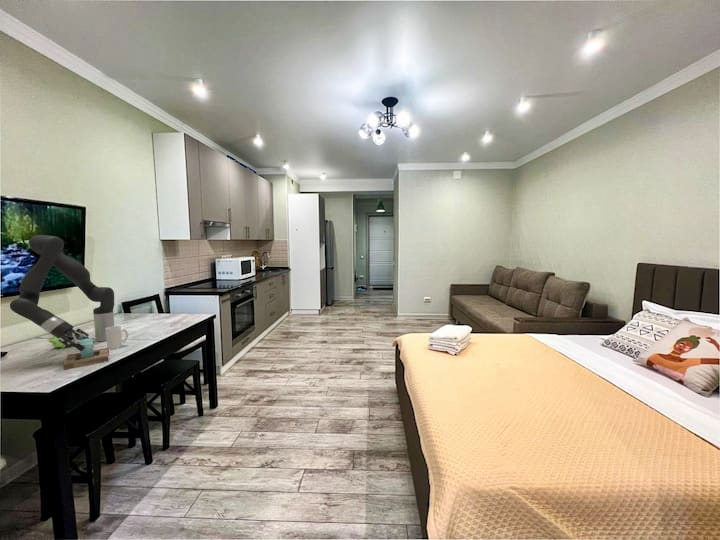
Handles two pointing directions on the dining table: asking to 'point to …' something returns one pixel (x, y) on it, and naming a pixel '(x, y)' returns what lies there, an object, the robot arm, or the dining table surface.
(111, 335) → the mug
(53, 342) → the teapot
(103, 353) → the wooden trivet
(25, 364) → the dining table surface
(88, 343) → the teal cylinder
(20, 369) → the dining table surface
